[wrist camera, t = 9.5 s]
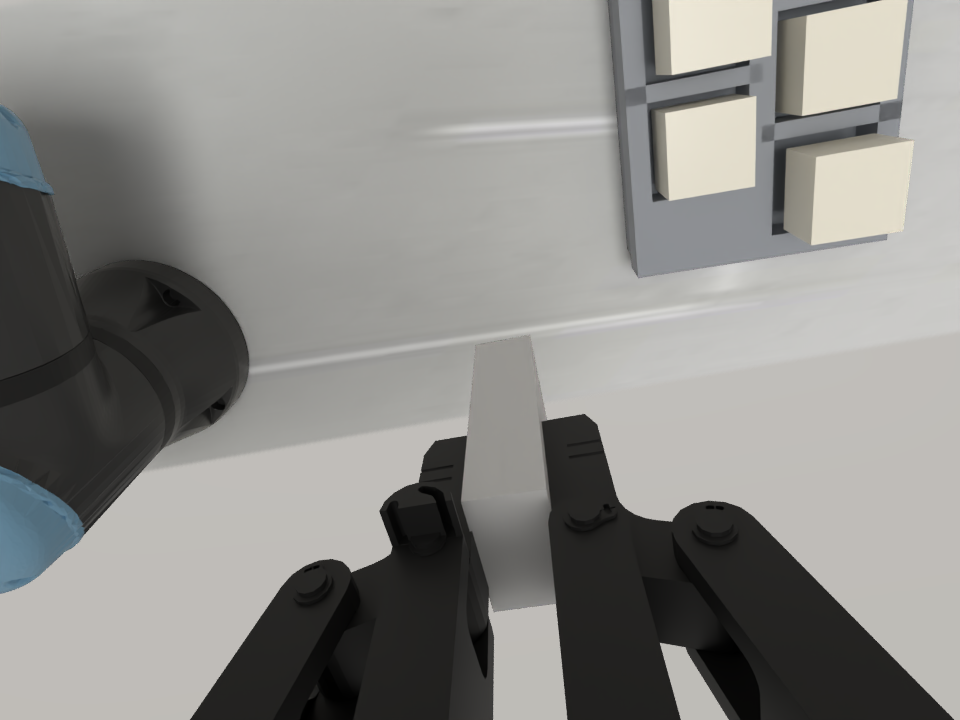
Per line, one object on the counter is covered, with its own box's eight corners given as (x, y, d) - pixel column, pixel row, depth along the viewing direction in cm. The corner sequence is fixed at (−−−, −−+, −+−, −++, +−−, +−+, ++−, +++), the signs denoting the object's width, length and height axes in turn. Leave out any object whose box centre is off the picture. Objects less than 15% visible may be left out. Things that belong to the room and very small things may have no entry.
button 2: (655, 189, 39) (669, 201, 36) (651, 109, 37) (665, 113, 34) (733, 175, 39) (755, 186, 35) (733, 93, 37) (756, 96, 33)
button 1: (783, 229, 38) (811, 245, 34) (786, 148, 36) (816, 156, 32) (866, 216, 37) (903, 231, 34) (874, 133, 35) (914, 140, 32)
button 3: (774, 111, 37) (802, 116, 33) (776, 21, 35) (806, 15, 31) (859, 96, 36) (897, 98, 33) (867, 3, 34) (908, -6, 31)
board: (628, 261, 44) (640, 281, 40) (595, -158, 34) (606, -192, 29) (855, 225, 42) (892, 242, 38) (895, -234, 32) (954, -281, 27)
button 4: (656, 75, 35) (672, 75, 31) (650, -25, 33) (667, -37, 29) (744, 57, 34) (771, 55, 30) (745, -45, 32) (774, -60, 28)
